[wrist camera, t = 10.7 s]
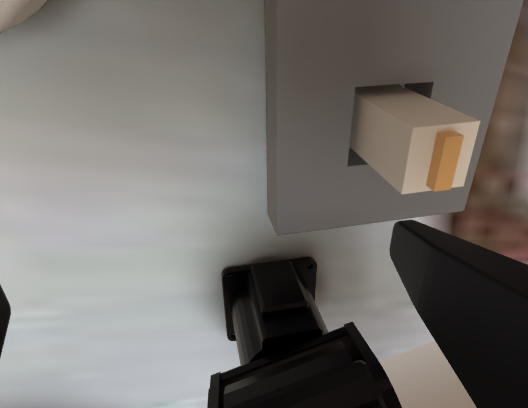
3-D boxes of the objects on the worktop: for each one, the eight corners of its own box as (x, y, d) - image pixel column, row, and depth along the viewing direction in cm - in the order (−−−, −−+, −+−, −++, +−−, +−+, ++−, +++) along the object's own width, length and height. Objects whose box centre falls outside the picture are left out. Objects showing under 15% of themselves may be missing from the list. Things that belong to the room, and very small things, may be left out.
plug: (388, 134, 23) (472, 192, 17) (341, 139, 23) (408, 201, 16) (395, 83, 22) (491, 125, 15) (345, 87, 21) (421, 132, 15)
